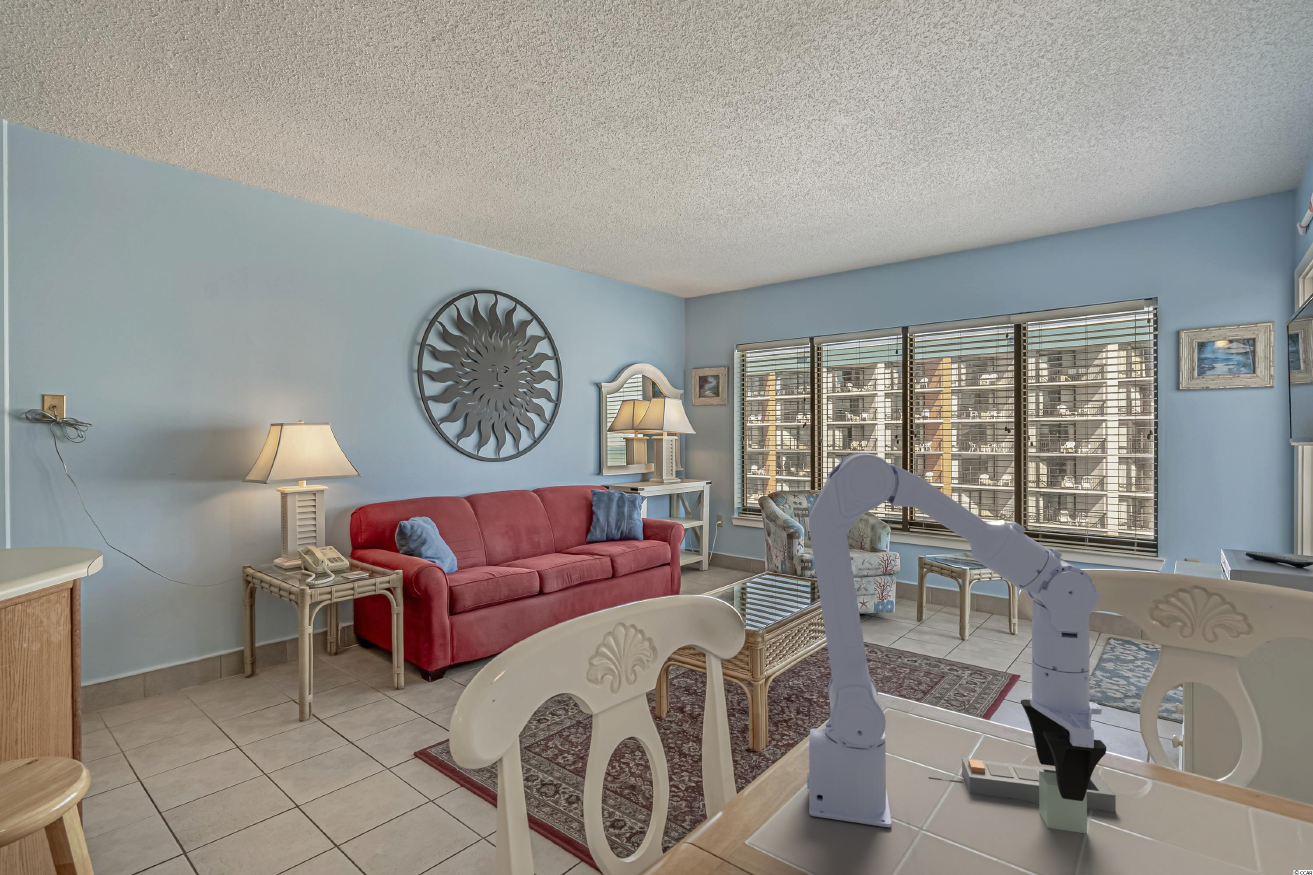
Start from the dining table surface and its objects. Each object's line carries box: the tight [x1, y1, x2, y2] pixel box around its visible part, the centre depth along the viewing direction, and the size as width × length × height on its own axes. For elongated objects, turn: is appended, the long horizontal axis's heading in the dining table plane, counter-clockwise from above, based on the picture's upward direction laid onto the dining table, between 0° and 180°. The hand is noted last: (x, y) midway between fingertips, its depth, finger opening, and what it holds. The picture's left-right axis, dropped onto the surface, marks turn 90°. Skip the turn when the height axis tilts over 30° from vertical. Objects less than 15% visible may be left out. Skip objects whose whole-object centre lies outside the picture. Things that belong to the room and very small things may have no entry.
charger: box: [1038, 771, 1088, 834], centre depth 74 cm, size 4×3×7 cm
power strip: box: [928, 757, 1117, 813], centre depth 82 cm, size 20×5×4 cm, turn 74°
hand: (1060, 780), depth 75 cm, fingers open, 7 cm apart
